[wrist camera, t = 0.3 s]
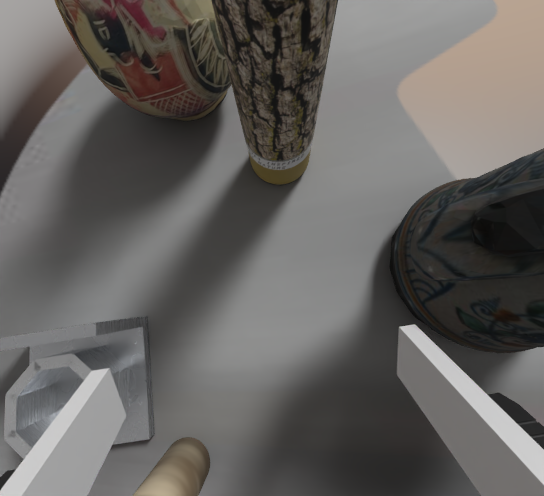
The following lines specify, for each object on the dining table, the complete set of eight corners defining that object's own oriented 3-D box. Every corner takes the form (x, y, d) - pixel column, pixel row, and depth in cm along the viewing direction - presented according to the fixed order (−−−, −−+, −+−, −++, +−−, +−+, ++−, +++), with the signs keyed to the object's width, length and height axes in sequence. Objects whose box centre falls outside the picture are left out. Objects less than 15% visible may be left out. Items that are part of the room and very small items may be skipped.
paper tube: (317, 175, 31) (443, -292, 6) (262, 195, 31) (178, -208, 6) (296, 126, 32) (335, -417, 8) (243, 145, 32) (113, -349, 8)
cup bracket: (154, 434, 27) (100, 490, 19) (36, 452, 27) (-66, 515, 19) (147, 316, 29) (95, 322, 21) (38, 333, 29) (-53, 346, 21)
